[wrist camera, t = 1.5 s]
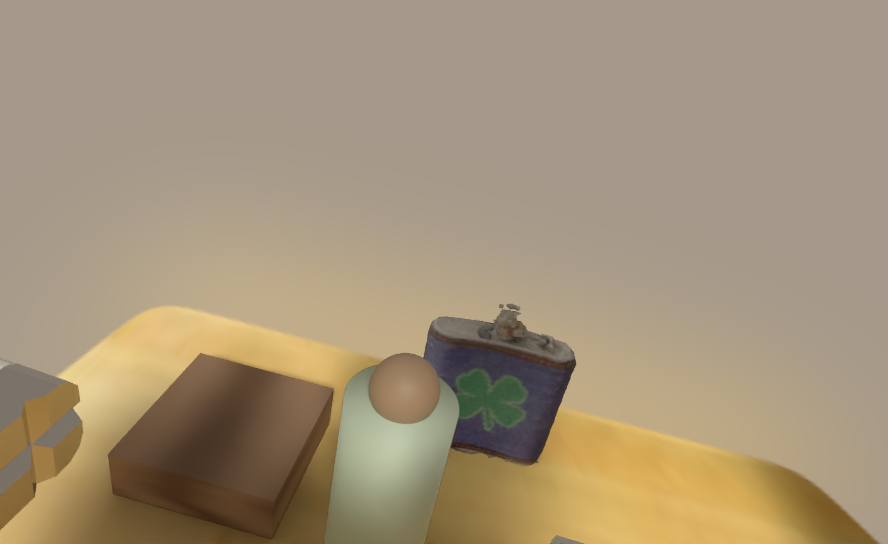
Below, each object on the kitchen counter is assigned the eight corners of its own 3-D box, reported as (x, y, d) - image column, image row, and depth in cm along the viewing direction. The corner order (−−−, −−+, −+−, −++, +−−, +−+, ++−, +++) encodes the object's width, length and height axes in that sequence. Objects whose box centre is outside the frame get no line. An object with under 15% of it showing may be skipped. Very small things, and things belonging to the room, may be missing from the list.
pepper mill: (416, 566, 32) (476, 342, 24) (396, 654, 28) (460, 417, 20) (334, 542, 32) (369, 314, 25) (301, 626, 28) (332, 383, 21)
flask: (403, 440, 39) (433, 306, 34) (411, 410, 42) (439, 281, 37) (540, 472, 39) (590, 342, 34) (539, 440, 42) (586, 315, 37)
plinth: (329, 423, 39) (333, 388, 38) (271, 539, 31) (274, 501, 30) (200, 388, 40) (200, 353, 38) (113, 493, 32) (107, 454, 31)
